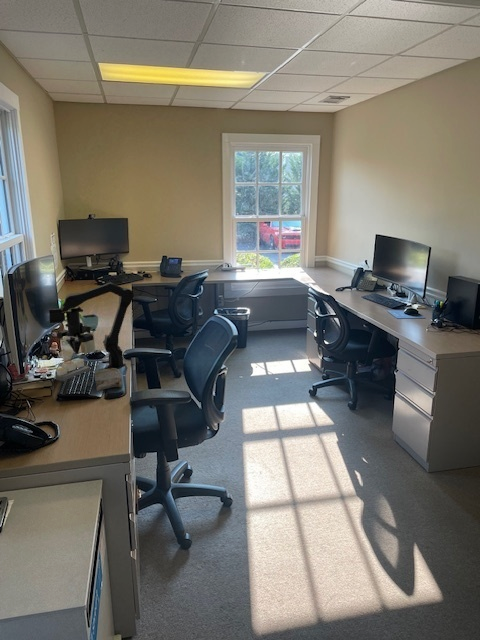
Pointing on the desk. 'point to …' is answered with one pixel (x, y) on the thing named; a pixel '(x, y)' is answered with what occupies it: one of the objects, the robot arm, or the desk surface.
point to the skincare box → (88, 345)
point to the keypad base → (72, 373)
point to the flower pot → (90, 321)
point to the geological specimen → (108, 378)
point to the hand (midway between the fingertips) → (76, 353)
